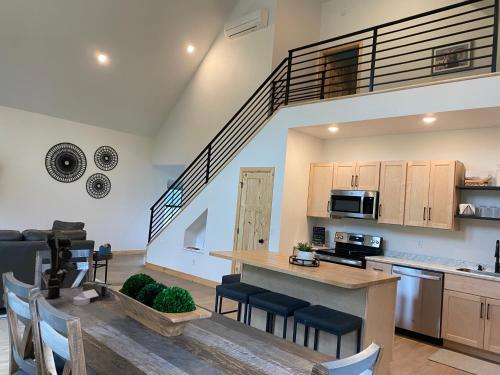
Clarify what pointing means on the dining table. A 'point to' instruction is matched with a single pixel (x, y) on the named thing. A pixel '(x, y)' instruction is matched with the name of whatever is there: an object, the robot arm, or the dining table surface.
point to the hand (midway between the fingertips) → (61, 284)
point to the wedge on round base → (84, 297)
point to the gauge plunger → (96, 288)
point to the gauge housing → (105, 293)
